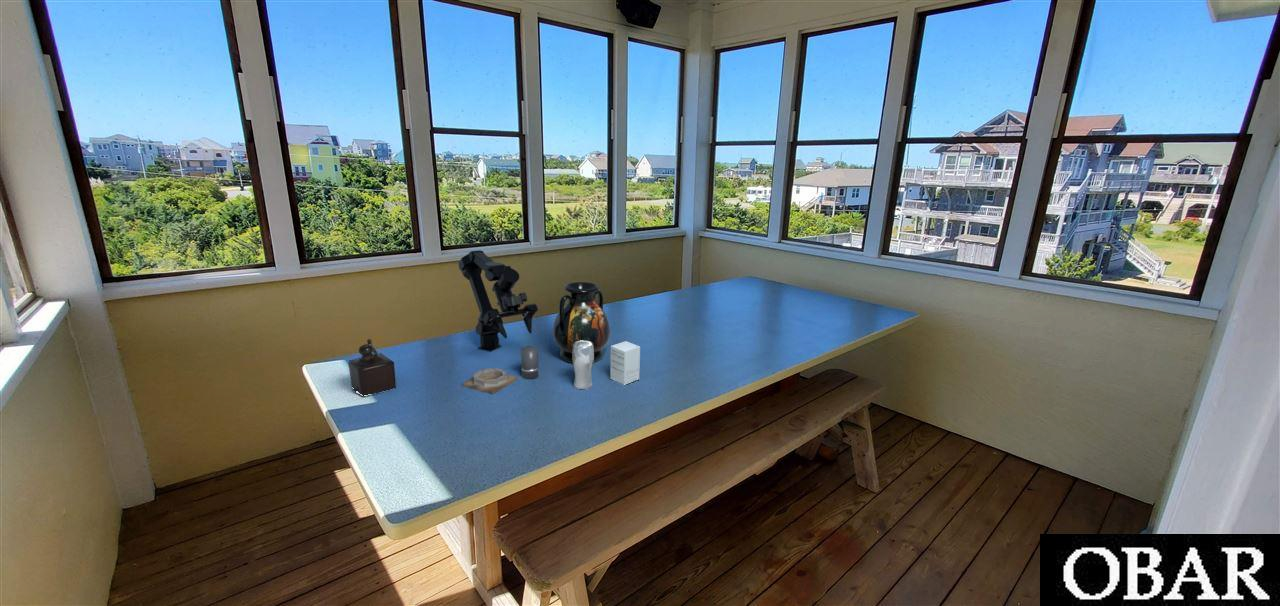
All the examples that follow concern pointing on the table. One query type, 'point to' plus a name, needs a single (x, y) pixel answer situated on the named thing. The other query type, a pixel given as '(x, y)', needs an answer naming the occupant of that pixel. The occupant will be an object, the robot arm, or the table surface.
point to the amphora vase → (581, 320)
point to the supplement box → (625, 362)
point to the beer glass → (583, 363)
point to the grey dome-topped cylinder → (529, 362)
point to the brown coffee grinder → (371, 371)
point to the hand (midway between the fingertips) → (518, 335)
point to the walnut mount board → (490, 389)
